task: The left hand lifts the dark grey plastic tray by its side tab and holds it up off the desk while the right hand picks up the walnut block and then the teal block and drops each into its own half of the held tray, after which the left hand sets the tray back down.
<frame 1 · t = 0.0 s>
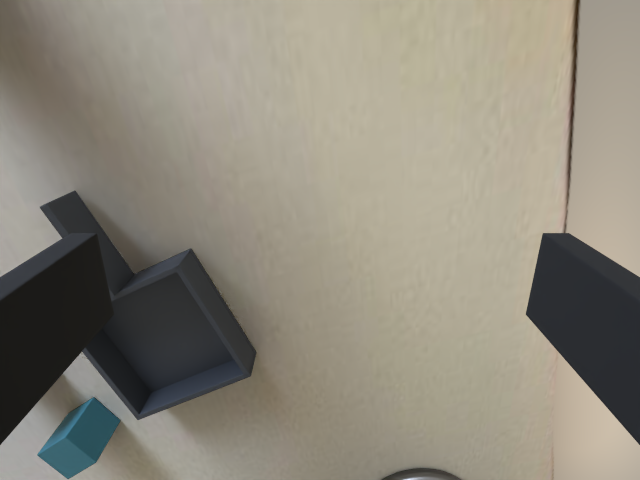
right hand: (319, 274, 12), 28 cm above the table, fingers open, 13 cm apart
tray: (170, 326, 46), on the table
teal block: (94, 416, 51), on the table
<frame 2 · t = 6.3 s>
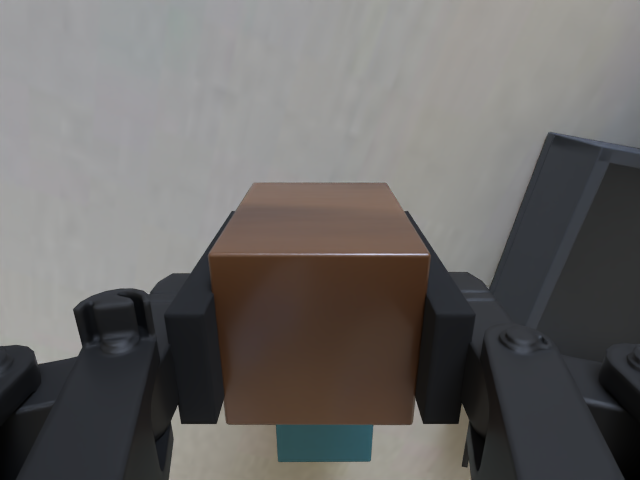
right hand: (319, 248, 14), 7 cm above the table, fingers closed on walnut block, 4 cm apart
tray: (620, 282, 23), on the table, touching left hand
walnut block: (319, 244, 15), point 7 cm above the table, touching right hand
teal block: (323, 346, 25), on the table
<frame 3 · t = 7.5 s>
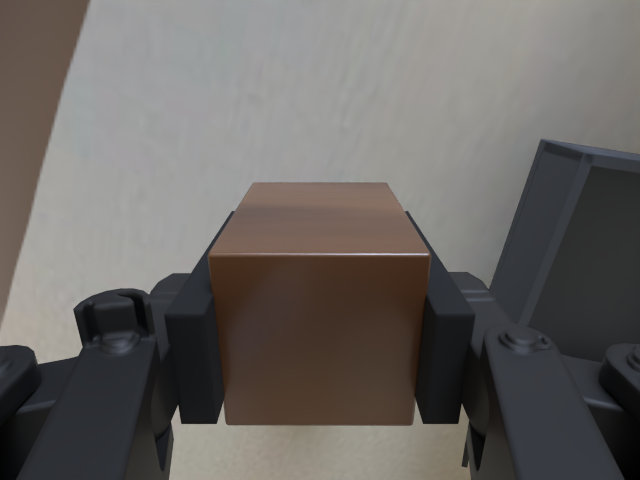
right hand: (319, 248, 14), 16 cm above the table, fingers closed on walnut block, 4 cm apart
tray: (611, 272, 25), point 6 cm above the table, touching left hand
walnut block: (319, 244, 15), point 15 cm above the table, touching right hand
when the right hand's fingers open (14 cm above the table, at t = 10.9 s): walnut block drops 4 cm, resting on tray.
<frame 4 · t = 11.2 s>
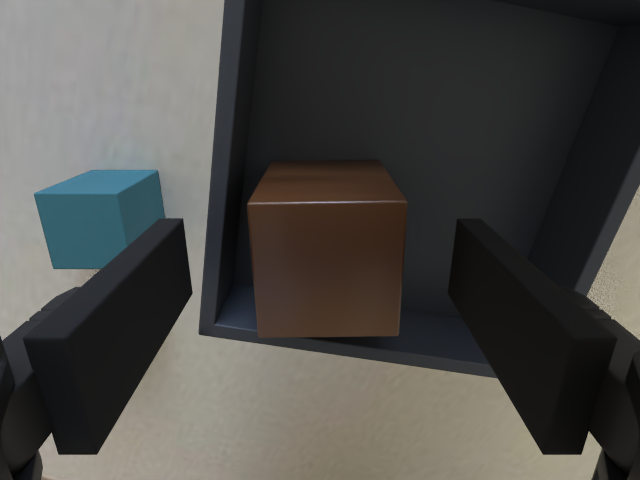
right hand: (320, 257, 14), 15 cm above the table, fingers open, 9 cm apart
tray: (401, 166, 18), point 10 cm above the table, touching left hand, walnut block
walnut block: (325, 212, 18), point 10 cm above the table, touching tray
teal block: (130, 202, 28), on the table
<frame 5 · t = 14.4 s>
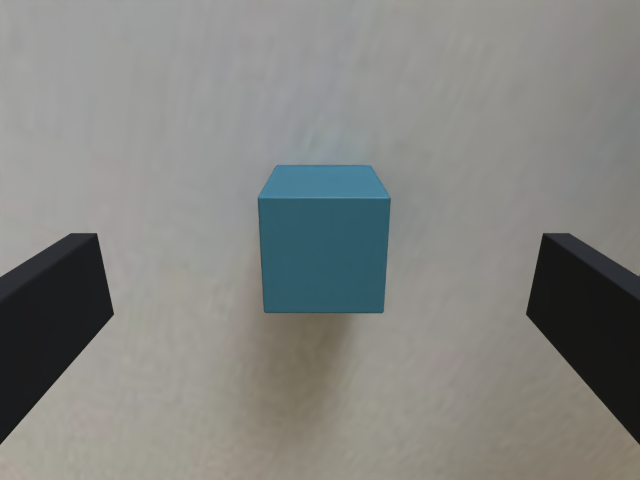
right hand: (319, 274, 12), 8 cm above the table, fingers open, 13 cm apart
teal block: (323, 210, 20), on the table
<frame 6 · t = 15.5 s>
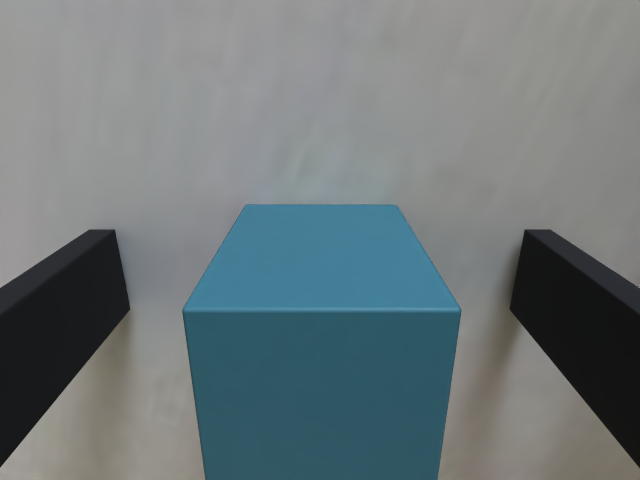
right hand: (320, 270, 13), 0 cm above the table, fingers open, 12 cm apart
teal block: (320, 273, 13), on the table
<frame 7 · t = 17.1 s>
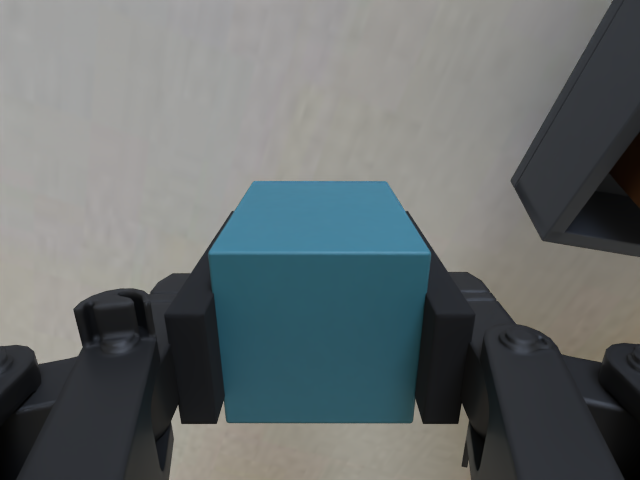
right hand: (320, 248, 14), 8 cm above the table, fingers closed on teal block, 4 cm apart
teal block: (319, 243, 15), point 7 cm above the table, touching right hand
when the right hand's fingers open (14 cm above the table, at t = 20.5 s): teal block drops 13 cm, resting on tray.
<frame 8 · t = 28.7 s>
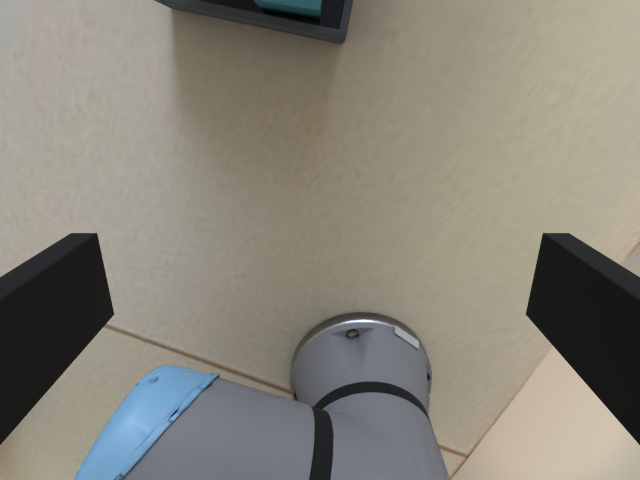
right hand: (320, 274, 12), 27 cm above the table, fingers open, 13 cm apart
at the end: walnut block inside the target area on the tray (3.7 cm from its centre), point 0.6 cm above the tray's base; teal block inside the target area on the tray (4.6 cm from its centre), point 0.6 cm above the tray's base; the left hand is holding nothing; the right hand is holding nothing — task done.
